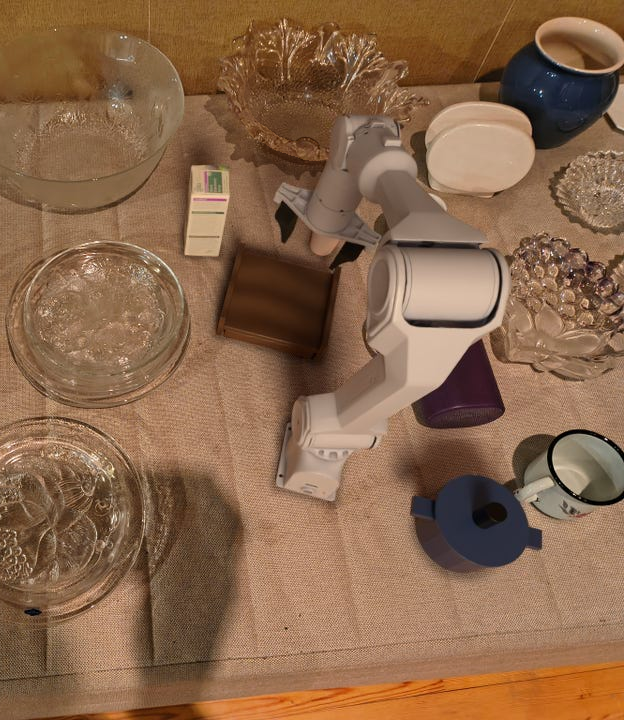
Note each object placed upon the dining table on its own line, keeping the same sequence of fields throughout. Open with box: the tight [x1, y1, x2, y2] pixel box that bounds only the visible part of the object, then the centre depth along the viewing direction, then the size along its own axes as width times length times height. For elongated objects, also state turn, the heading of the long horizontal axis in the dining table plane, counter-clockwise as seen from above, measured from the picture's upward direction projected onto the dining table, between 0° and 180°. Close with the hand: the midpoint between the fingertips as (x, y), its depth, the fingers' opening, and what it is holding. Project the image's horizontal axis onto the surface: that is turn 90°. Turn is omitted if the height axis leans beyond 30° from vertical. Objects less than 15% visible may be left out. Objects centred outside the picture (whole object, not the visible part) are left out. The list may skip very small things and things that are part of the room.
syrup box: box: [183, 164, 231, 257], centre depth 101 cm, size 6×6×14 cm
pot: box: [409, 493, 543, 574], centre depth 84 cm, size 10×16×7 cm, turn 74°
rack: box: [215, 241, 342, 362], centre depth 99 cm, size 14×16×5 cm
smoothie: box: [309, 205, 361, 257], centre depth 101 cm, size 6×6×14 cm
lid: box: [434, 474, 530, 569], centre depth 79 cm, size 11×11×5 cm
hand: (309, 251), depth 94 cm, fingers open, 7 cm apart
